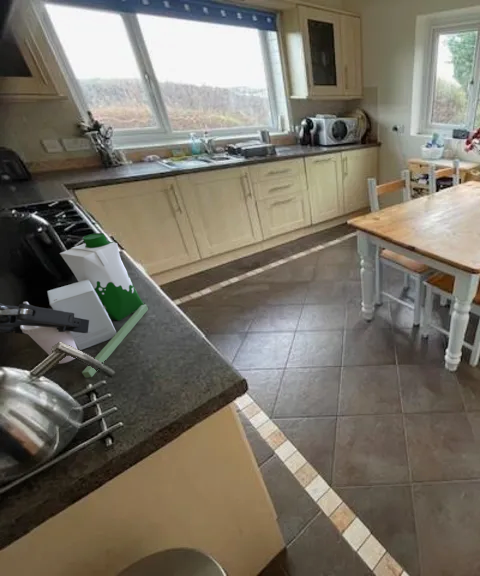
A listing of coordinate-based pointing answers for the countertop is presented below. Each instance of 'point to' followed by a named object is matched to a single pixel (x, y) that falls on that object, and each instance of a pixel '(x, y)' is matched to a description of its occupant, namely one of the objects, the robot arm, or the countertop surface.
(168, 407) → the countertop surface
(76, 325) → the robot arm
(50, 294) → the white packaging box
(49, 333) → the smoothie
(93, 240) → the soya milk
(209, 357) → the countertop surface
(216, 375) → the countertop surface
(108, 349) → the straightedge
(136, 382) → the countertop surface
